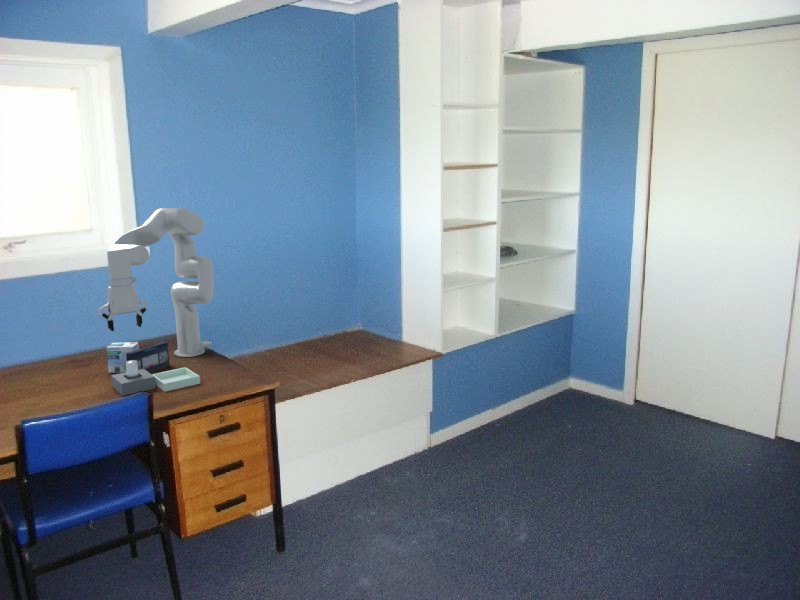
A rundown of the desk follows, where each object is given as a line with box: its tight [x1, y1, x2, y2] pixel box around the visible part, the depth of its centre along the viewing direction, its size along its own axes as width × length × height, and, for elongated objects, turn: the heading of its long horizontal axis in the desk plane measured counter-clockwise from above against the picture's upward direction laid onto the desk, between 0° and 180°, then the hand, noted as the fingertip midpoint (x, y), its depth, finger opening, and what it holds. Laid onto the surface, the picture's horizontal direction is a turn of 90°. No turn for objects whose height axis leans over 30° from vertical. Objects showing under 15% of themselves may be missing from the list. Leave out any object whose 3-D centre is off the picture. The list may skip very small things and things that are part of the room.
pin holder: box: [110, 369, 157, 396], centre depth 254 cm, size 12×12×4 cm
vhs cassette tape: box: [126, 341, 170, 374], centre depth 272 cm, size 18×3×10 cm, turn 147°
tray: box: [151, 367, 201, 392], centre depth 259 cm, size 14×14×3 cm
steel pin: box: [126, 360, 139, 379], centre depth 253 cm, size 4×4×10 cm
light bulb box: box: [106, 341, 140, 374], centre depth 273 cm, size 11×7×11 cm, turn 92°
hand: (125, 328), depth 250 cm, fingers open, 9 cm apart
